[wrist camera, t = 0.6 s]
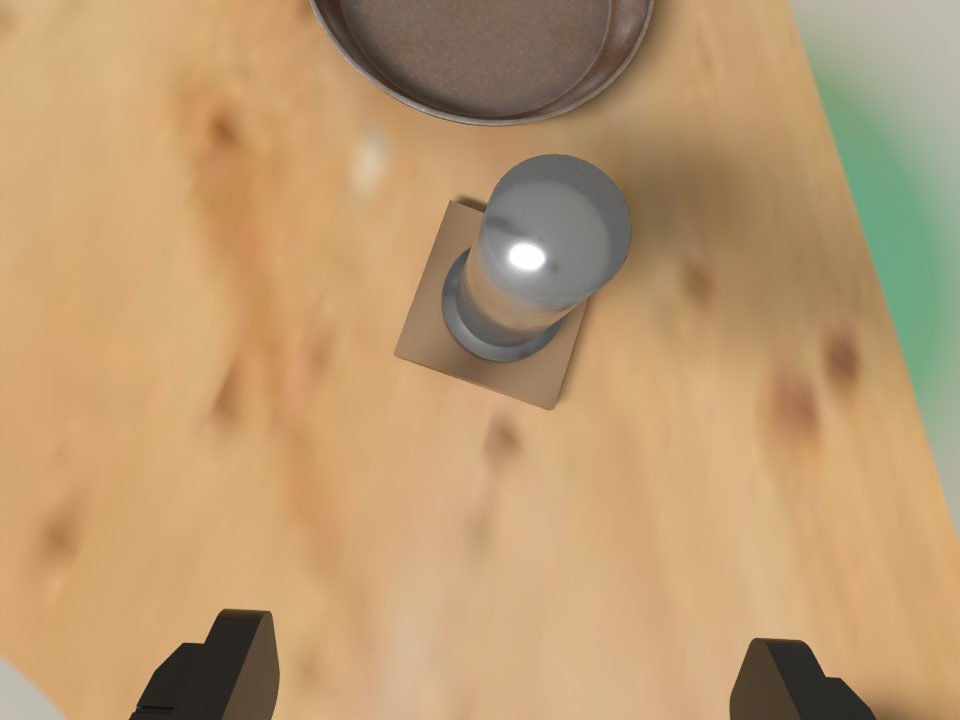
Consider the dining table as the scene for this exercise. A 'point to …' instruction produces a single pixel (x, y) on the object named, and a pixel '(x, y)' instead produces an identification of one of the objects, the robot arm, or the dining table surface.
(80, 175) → the dining table surface
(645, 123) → the dining table surface
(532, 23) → the brown shallow round tray
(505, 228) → the metal cylinder canister
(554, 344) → the stand
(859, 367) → the dining table surface
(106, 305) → the dining table surface
